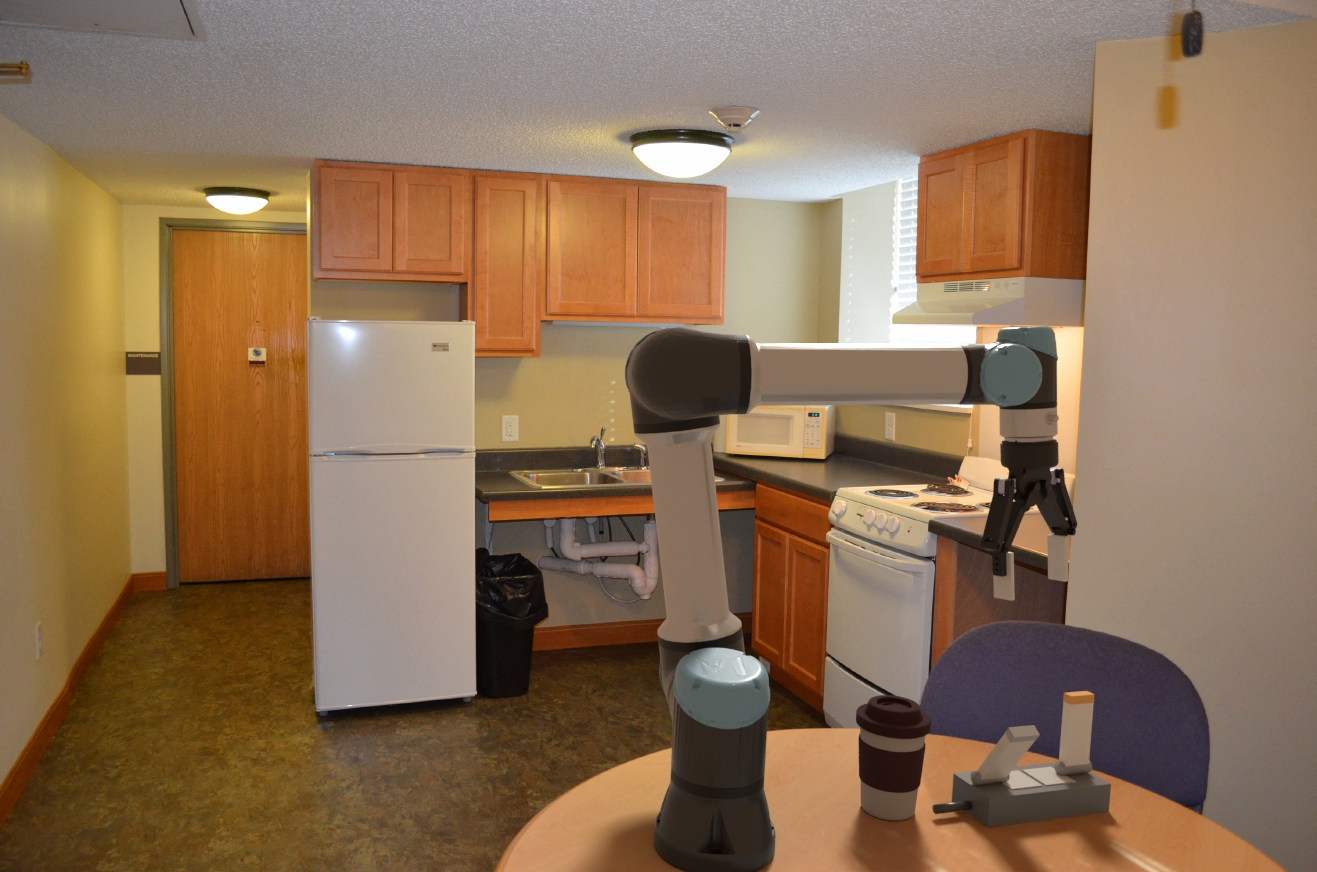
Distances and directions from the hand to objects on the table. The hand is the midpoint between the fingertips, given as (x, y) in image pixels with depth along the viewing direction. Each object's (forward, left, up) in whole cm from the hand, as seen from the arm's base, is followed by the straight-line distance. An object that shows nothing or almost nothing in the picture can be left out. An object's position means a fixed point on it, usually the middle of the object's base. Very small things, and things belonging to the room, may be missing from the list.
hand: (1032, 589), depth 136 cm
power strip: (+1, -4, -30) cm, 31 cm away
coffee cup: (-9, -18, -30) cm, 37 cm away
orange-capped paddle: (+6, +5, -25) cm, 26 cm away
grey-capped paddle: (0, -7, -25) cm, 26 cm away
